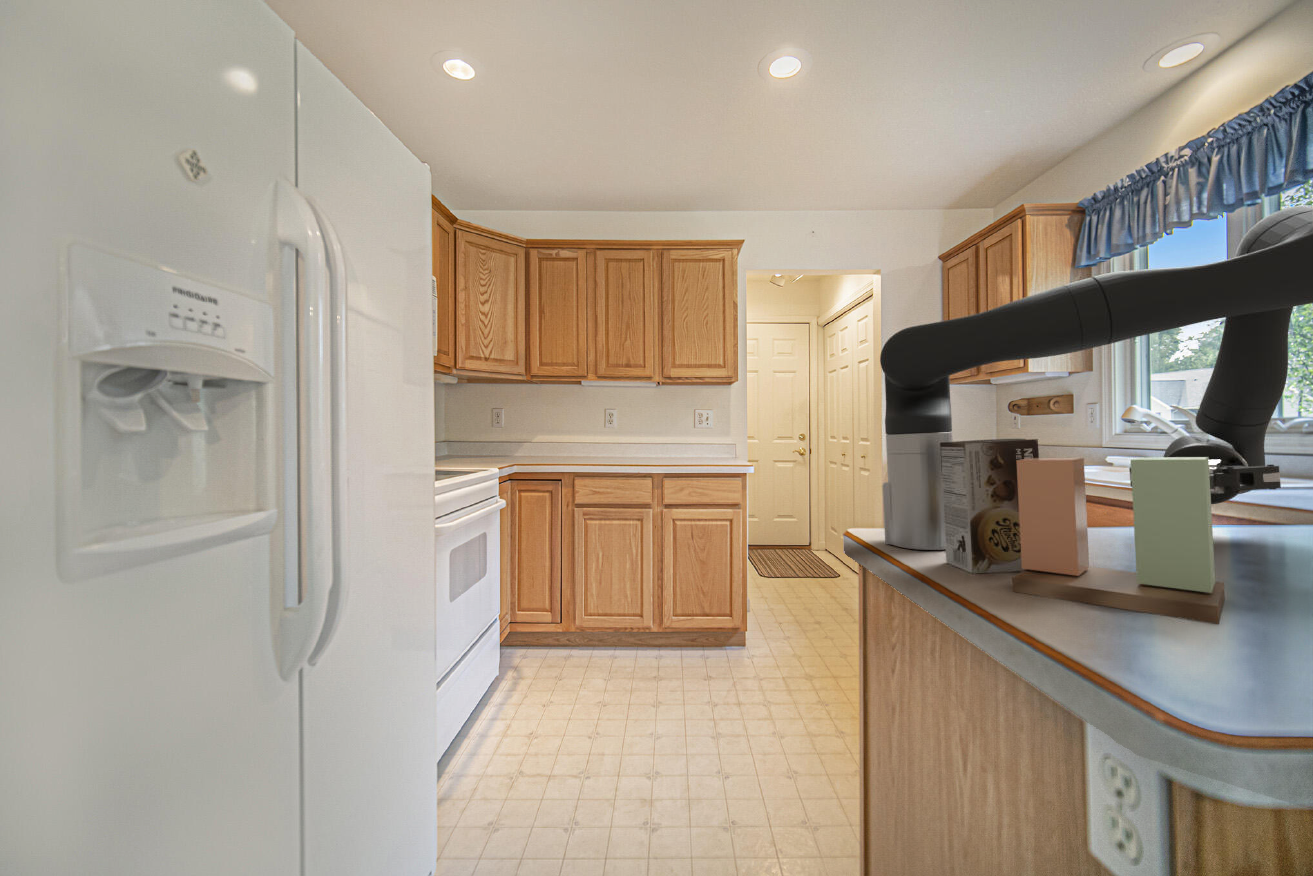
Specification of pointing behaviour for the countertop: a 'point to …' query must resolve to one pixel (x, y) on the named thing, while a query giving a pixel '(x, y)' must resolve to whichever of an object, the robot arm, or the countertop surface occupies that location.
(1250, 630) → the countertop surface
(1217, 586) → the brown wooden board
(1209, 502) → the pale green block
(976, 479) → the coffee box
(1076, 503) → the peach rectangular block
